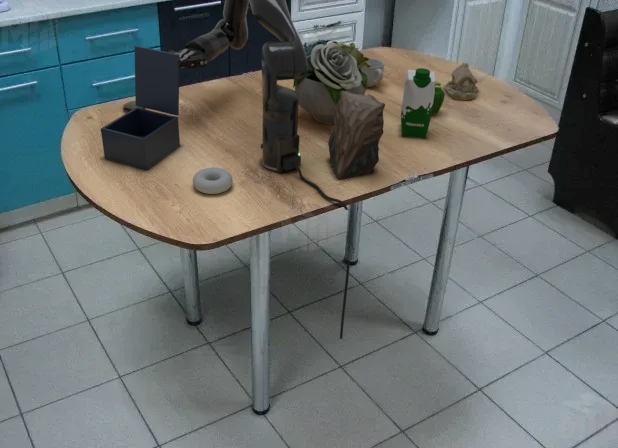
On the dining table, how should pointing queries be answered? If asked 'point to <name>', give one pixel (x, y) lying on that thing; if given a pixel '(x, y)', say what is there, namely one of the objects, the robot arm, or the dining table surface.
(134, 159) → the chest
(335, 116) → the brown rough block
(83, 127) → the dining table surface
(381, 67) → the teacup
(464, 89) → the ceramic model
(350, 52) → the flower arrangement
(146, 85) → the lid
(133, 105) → the soupspoon
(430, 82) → the milk carton
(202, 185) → the donut
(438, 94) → the bell pepper
